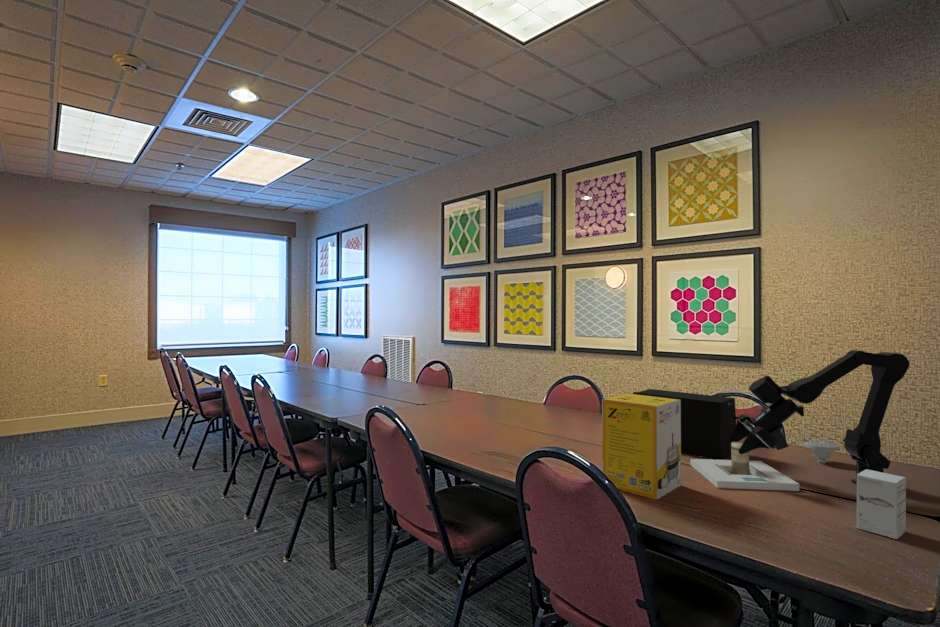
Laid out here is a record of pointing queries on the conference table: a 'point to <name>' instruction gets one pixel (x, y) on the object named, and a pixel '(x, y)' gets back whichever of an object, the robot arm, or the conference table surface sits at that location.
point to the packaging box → (642, 443)
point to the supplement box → (881, 503)
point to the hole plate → (759, 479)
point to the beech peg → (739, 460)
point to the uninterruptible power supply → (703, 422)
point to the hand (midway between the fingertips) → (735, 448)
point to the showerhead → (821, 449)
